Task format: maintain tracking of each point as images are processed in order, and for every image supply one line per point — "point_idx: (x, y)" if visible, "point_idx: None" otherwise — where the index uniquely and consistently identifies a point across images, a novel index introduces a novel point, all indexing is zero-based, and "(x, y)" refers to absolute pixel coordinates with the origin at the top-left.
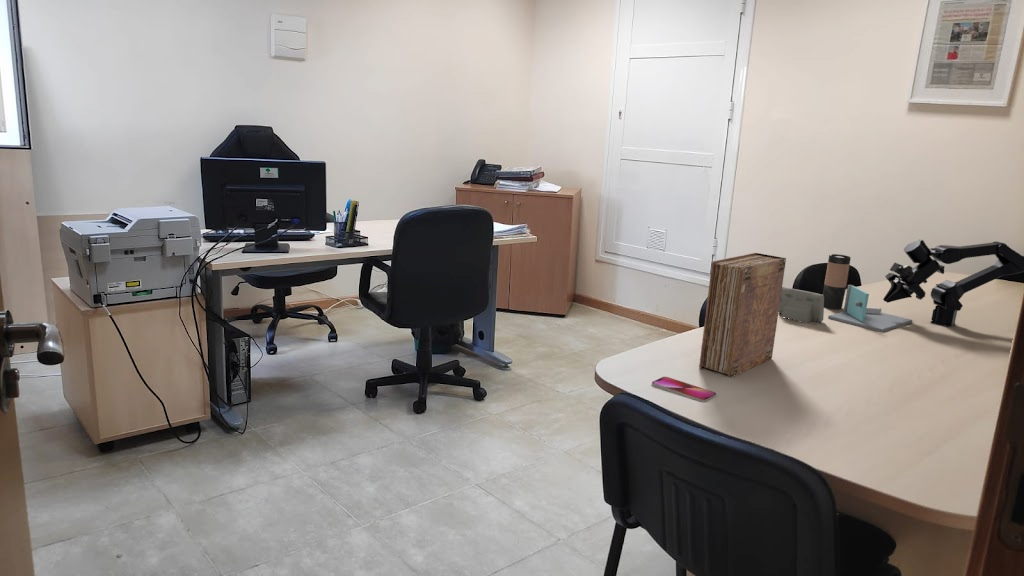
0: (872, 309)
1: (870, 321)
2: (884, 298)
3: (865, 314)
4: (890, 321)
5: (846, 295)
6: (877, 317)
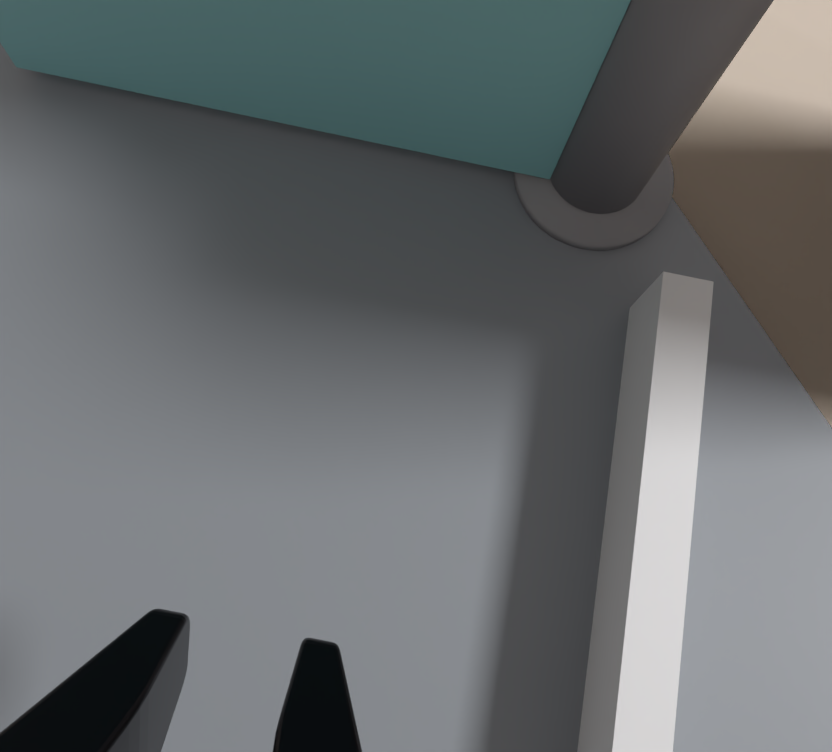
0: (617, 634)
1: (82, 233)
2: (300, 664)
3: (509, 444)
4: (40, 623)
5: None
6: (315, 545)
